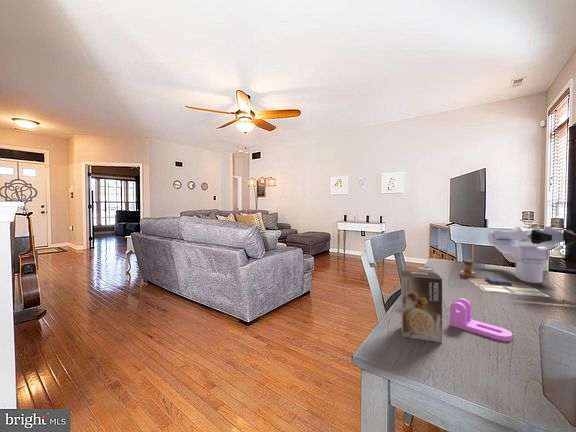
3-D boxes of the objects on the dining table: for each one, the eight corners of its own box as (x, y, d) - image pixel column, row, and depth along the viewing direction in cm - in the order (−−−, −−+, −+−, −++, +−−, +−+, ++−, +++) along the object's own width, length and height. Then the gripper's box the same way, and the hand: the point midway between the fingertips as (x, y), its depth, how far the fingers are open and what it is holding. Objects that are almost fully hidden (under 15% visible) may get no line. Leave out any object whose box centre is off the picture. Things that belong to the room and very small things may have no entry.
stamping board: (466, 280, 114) (466, 277, 114) (521, 283, 108) (521, 281, 108) (484, 293, 97) (484, 291, 97) (550, 299, 91) (550, 296, 91)
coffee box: (437, 331, 69) (438, 272, 68) (442, 343, 63) (443, 279, 62) (400, 326, 72) (401, 269, 71) (401, 337, 66) (402, 275, 65)
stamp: (462, 278, 117) (463, 261, 117) (459, 275, 121) (460, 260, 121) (475, 279, 116) (476, 262, 116) (472, 276, 120) (472, 260, 119)
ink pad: (484, 280, 111) (485, 277, 111) (504, 281, 109) (504, 278, 109) (491, 284, 106) (491, 281, 106) (511, 285, 104) (512, 282, 104)
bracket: (449, 325, 73) (450, 301, 72) (456, 319, 76) (456, 296, 76) (509, 344, 63) (510, 316, 62) (513, 336, 66) (514, 310, 66)
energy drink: (433, 300, 91) (433, 266, 90) (434, 305, 86) (435, 270, 86) (416, 298, 93) (416, 265, 93) (416, 303, 88) (417, 269, 88)
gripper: (518, 225, 107) (538, 226, 94) (563, 226, 102) (590, 227, 89) (518, 242, 107) (538, 245, 94) (563, 244, 102) (591, 247, 89)
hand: (564, 238), depth 92 cm, fingers open, 7 cm apart
